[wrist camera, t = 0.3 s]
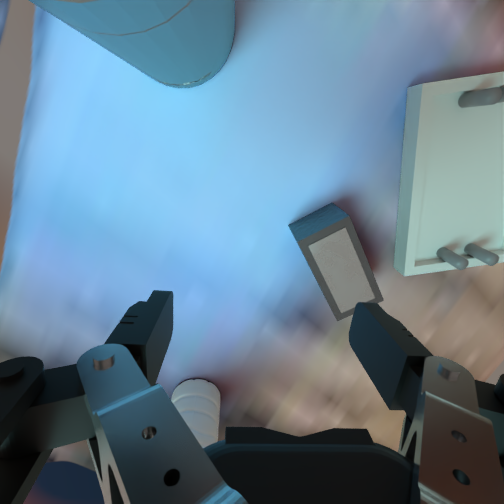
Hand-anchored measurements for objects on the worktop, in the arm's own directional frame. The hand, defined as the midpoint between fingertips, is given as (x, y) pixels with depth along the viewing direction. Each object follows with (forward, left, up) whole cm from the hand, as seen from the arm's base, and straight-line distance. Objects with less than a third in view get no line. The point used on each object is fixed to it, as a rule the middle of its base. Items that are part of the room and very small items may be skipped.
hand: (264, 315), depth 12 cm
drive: (+6, +8, -18) cm, 21 cm away
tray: (0, +21, -18) cm, 28 cm away
